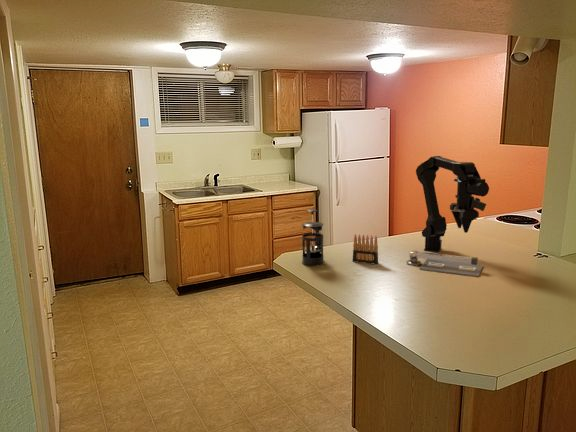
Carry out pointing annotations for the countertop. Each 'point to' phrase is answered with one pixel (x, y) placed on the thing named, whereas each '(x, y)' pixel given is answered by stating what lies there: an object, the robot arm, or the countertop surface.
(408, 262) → the pivot post
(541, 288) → the countertop surface
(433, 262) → the label board
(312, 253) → the french press
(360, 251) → the ammunition clip
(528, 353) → the countertop surface
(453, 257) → the cable arm
